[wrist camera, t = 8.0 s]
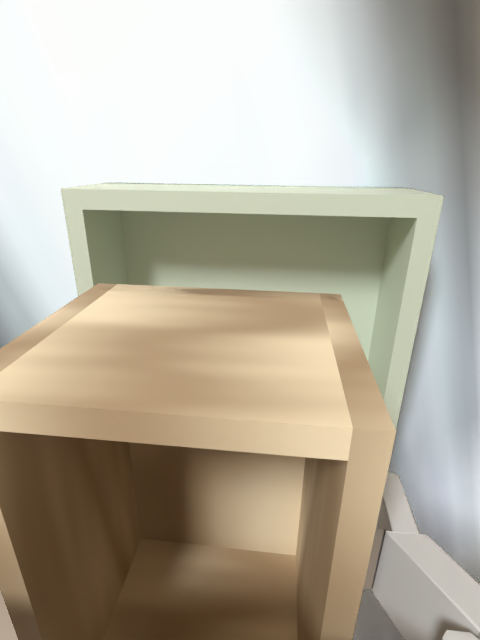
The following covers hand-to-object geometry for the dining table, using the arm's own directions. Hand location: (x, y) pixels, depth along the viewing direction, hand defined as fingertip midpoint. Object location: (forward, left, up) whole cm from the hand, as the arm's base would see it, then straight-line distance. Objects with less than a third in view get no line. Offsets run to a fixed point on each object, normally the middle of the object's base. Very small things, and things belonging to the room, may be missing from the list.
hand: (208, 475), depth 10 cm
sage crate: (0, 0, -10) cm, 10 cm away
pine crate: (0, 0, -2) cm, 2 cm away
